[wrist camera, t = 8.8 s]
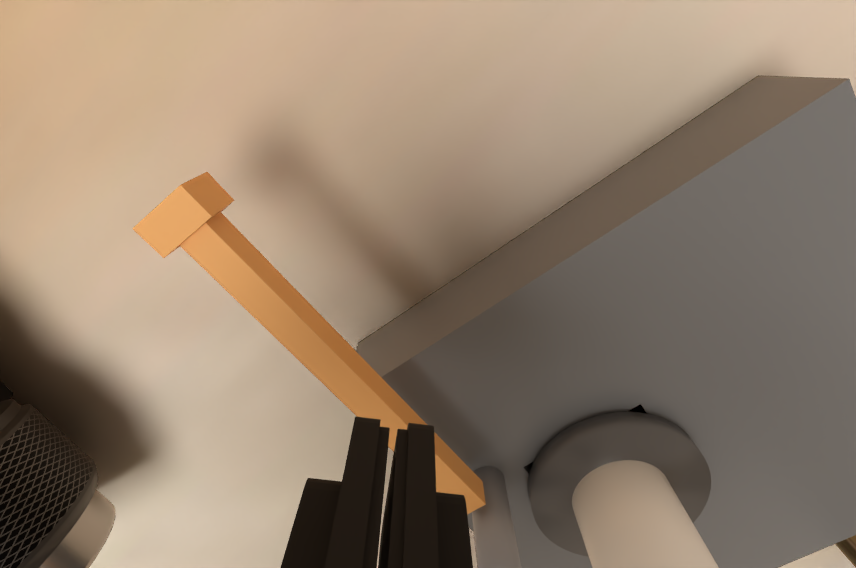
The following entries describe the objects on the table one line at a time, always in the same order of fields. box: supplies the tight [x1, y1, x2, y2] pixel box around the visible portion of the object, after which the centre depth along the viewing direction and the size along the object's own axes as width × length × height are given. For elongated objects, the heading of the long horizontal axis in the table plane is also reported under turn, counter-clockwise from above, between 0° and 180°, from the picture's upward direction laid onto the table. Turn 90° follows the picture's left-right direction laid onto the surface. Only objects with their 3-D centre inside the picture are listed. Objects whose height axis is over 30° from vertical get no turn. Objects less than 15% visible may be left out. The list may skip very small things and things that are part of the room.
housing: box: [356, 76, 856, 568], centre depth 19 cm, size 18×18×8 cm
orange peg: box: [133, 172, 486, 515], centre depth 15 cm, size 2×14×2 cm, turn 38°
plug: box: [528, 411, 719, 568], centre depth 18 cm, size 7×7×11 cm
